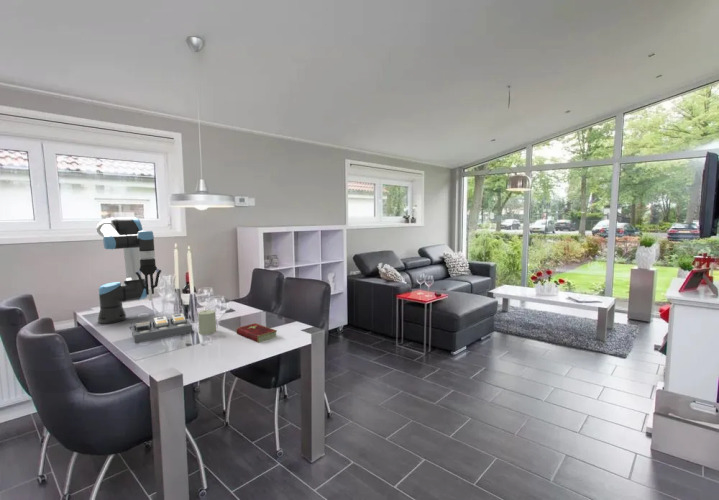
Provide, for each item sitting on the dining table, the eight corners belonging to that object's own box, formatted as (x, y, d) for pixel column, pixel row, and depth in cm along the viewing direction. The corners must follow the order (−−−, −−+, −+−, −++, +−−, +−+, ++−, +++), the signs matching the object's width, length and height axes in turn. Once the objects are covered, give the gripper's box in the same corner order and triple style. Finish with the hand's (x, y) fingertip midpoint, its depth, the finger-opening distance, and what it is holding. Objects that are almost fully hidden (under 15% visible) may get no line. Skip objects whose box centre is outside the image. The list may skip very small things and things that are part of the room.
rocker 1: (135, 326, 205) (135, 323, 205) (148, 324, 208) (147, 321, 208) (137, 326, 198) (136, 323, 198) (149, 324, 202) (149, 321, 202)
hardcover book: (257, 343, 191) (257, 335, 191) (236, 334, 205) (236, 327, 205) (277, 337, 200) (277, 330, 200) (255, 329, 214) (255, 322, 214)
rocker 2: (171, 317, 215) (171, 315, 215) (182, 315, 219) (182, 313, 218) (174, 323, 209) (174, 321, 209) (185, 321, 213) (185, 319, 212)
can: (212, 328, 216) (211, 308, 214) (219, 331, 209) (218, 311, 208) (196, 332, 209) (195, 311, 208) (202, 335, 203) (201, 314, 201)
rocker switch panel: (131, 334, 205) (130, 322, 205) (186, 325, 222) (185, 314, 221) (134, 342, 193) (133, 330, 192) (192, 332, 209) (191, 320, 208)
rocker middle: (153, 320, 210) (153, 317, 210) (165, 318, 214) (165, 315, 213) (156, 326, 204) (156, 324, 204) (168, 324, 207) (168, 322, 207)
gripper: (134, 259, 201) (137, 302, 202) (161, 258, 208) (164, 299, 210) (133, 258, 207) (136, 300, 209) (159, 257, 214) (162, 297, 216)
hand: (150, 299), depth 209 cm, fingers closed
